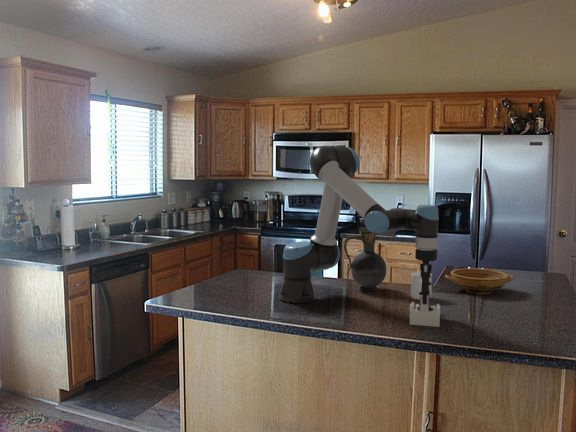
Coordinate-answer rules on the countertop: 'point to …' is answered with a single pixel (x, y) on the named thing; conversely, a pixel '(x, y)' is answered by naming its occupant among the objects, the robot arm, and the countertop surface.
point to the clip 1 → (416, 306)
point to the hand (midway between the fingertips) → (424, 307)
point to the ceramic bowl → (479, 279)
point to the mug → (418, 285)
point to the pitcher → (367, 262)
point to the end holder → (424, 317)
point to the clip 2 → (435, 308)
